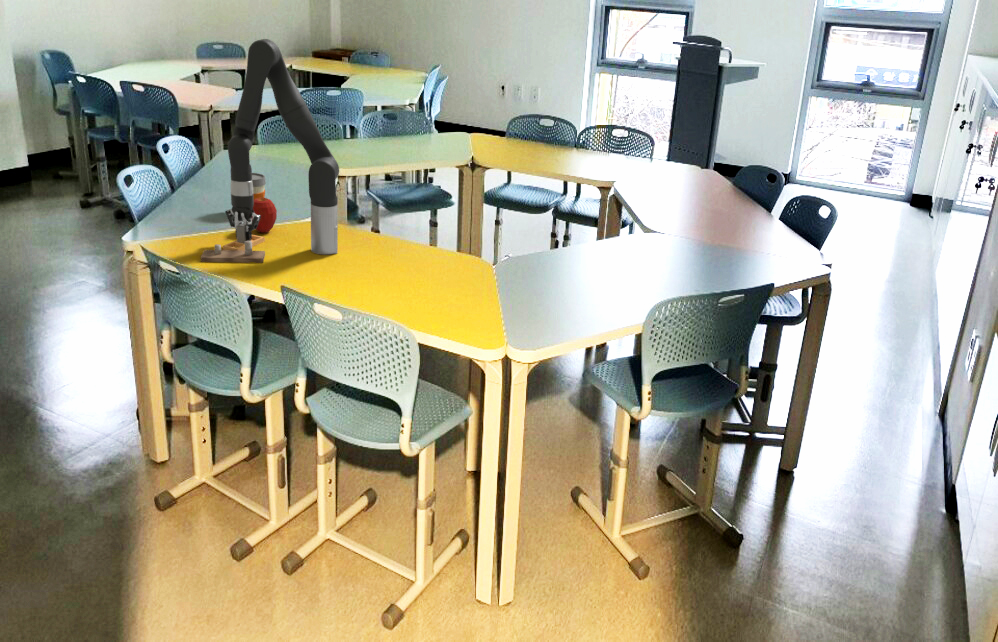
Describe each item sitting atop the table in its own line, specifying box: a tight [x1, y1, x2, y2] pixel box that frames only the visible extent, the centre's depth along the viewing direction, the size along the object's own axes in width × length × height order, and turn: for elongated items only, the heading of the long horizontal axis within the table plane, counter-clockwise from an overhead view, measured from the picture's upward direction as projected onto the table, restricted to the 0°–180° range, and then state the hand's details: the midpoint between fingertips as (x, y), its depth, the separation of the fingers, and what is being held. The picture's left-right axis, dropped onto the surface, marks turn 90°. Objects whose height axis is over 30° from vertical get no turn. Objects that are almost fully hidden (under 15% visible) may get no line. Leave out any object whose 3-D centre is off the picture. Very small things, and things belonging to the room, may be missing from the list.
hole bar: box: [222, 222, 266, 251], centre depth 300 cm, size 16×6×8 cm, turn 159°
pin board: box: [200, 241, 266, 264], centre depth 287 cm, size 20×8×6 cm, turn 100°
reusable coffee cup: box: [252, 172, 267, 200], centre depth 335 cm, size 13×13×15 cm
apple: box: [252, 196, 277, 234], centre depth 315 cm, size 10×10×14 cm
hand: (244, 239), depth 301 cm, fingers closed on hole bar, 3 cm apart
